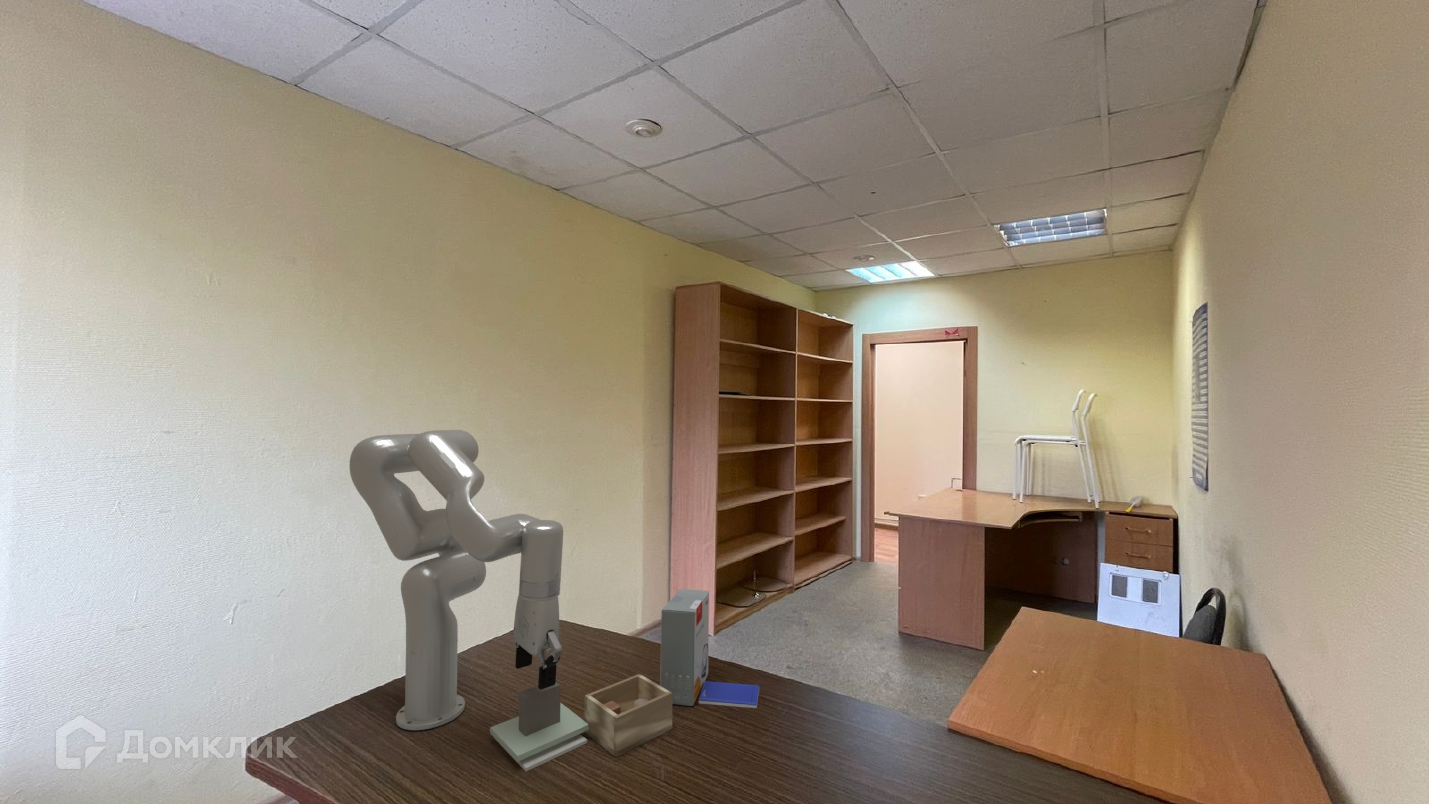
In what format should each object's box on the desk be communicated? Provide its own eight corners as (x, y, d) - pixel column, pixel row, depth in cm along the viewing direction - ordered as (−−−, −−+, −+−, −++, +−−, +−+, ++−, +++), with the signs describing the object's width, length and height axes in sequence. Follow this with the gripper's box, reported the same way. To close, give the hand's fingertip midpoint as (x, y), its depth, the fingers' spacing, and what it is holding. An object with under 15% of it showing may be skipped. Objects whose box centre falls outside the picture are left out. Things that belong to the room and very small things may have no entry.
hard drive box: (693, 708, 115) (694, 612, 116) (659, 704, 117) (659, 609, 117) (709, 673, 131) (709, 589, 131) (678, 670, 132) (678, 587, 133)
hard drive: (698, 698, 117) (756, 703, 115) (705, 680, 125) (759, 684, 123) (698, 705, 117) (756, 710, 115) (705, 687, 125) (759, 691, 123)
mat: (493, 737, 105) (493, 734, 105) (551, 713, 113) (551, 710, 113) (525, 771, 95) (525, 768, 95) (587, 743, 103) (587, 739, 103)
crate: (584, 732, 106) (584, 695, 107) (639, 707, 115) (639, 673, 116) (616, 757, 99) (616, 718, 99) (672, 729, 108) (672, 692, 108)
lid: (490, 738, 103) (490, 689, 104) (558, 710, 113) (558, 666, 113) (517, 767, 95) (517, 715, 95) (588, 735, 104) (589, 687, 105)
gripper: (501, 578, 108) (496, 664, 108) (542, 604, 96) (536, 702, 96) (537, 571, 113) (533, 654, 113) (580, 595, 101) (575, 688, 101)
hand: (534, 676), depth 105 cm, fingers open, 9 cm apart
